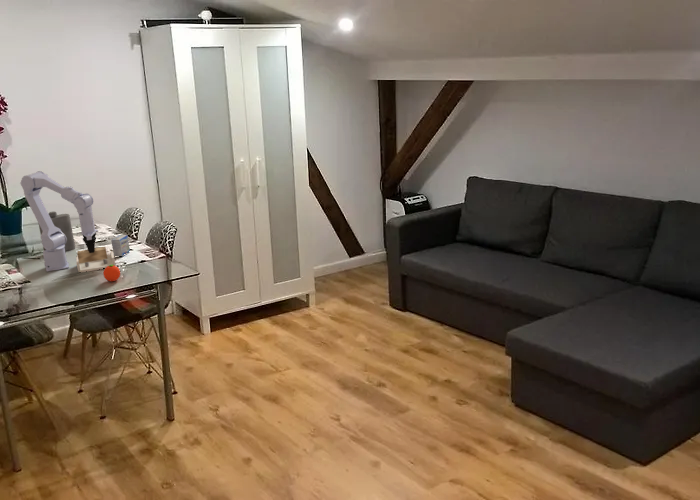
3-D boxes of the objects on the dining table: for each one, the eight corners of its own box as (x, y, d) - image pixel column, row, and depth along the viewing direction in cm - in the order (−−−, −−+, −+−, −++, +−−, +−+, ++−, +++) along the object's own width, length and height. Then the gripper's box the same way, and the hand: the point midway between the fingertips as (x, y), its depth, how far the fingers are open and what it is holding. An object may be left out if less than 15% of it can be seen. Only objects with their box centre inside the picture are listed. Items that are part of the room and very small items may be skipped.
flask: (71, 246, 349) (64, 207, 342) (77, 248, 345) (70, 209, 338) (42, 254, 339) (34, 214, 332) (47, 256, 335) (39, 216, 328)
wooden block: (79, 263, 309) (77, 253, 308) (79, 260, 313) (77, 251, 311) (107, 258, 313) (105, 249, 312) (107, 256, 317) (105, 246, 315)
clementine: (107, 277, 304) (105, 262, 302) (123, 276, 304) (121, 261, 302) (102, 284, 296) (100, 268, 294) (119, 283, 297) (116, 267, 294)
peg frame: (78, 272, 311) (76, 263, 310) (78, 265, 321) (76, 256, 319) (115, 267, 316) (114, 257, 315) (114, 259, 326) (112, 250, 325)
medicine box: (122, 257, 329) (119, 239, 326) (113, 257, 330) (110, 239, 327) (130, 251, 336) (127, 234, 334) (122, 251, 337) (119, 234, 335)
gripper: (96, 224, 302) (101, 254, 306) (96, 216, 315) (100, 245, 319) (79, 227, 300) (84, 256, 304) (79, 218, 313) (84, 247, 317)
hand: (91, 251), depth 312 cm, fingers closed on wooden block, 4 cm apart
